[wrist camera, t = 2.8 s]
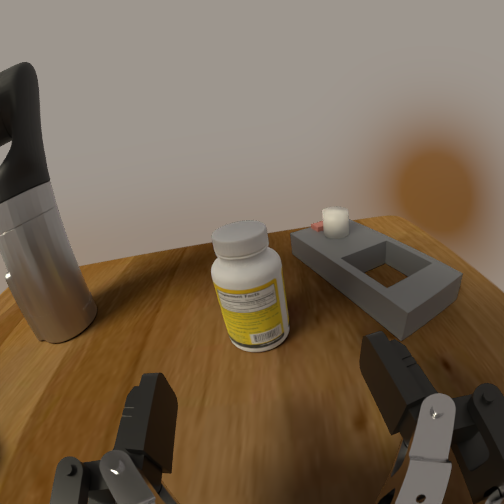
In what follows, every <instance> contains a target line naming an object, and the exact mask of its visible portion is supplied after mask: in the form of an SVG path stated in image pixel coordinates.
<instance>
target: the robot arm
mask: <svg viewBox="0 0 504 504" xmlns="http://www.w3.org/2000/svg"><path fill="white" fill-rule="evenodd" d="M10 141H12V145H11V148H10V150H9V152H8V154H7V156H6V158H5V160H4V161H3V163H2V164H1V166H0V252H1V255H2V257H3V260H4V262H5V265H6V267H7V270H8V272H7V273H6V275H5V279H6V282H7V284H8V286H9V288H10V290H11V292H12V294H13V296H14V298H15V300H16V302H17V304H18V306H19V308H20V310H21V311H22V313H23V315H24V317H25V319H26V320H27V322H28V324H29V325H30V327H31V329H32V330H33V332H34V334H35V335H36V337H37V339H38V340H39V341H41V340H45V341H47V342H50V343H59V342H63V341H66V340H68V339H71V338H73V337H74V336H76V335H78V334H79V333H81V332H82V331H83V330H84V329H85V328H87V327H88V326H89V324H90V323H91V322H92V321H93V319H94V318H95V316H96V313H97V306H96V304H95V302H94V300H93V298H92V295H91V293H90V291H89V289H88V287H87V285H86V283H85V280H84V278H83V276H82V273H81V271H80V268H79V266H78V264H77V261H76V259H75V256H74V254H73V251H72V248H71V246H70V243H69V240H68V237H67V235H66V232H65V229H64V226H63V223H62V220H61V217H60V214H59V210H58V207H57V204H56V201H55V197H54V193H53V189H52V185H51V182H50V177H49V173H48V169H47V163H46V157H45V152H44V146H43V140H42V132H41V121H40V102H39V87H38V79H37V75H36V72H35V69H34V67H33V66H32V65H31V64H30V63H27V62H22V63H19V64H17V65H14V66H12V67H10V68H8V69H6V70H4V71H2V72H0V146H2V145H4V144H6V143H8V142H10ZM360 370H361V373H362V375H363V377H364V379H365V381H366V383H367V385H368V387H369V389H370V392H371V394H372V396H373V398H374V400H375V402H376V404H377V406H378V408H379V410H380V412H381V414H382V417H383V419H384V421H385V423H386V425H387V427H388V429H389V432H390V434H391V435H393V434H396V433H398V432H400V434H401V436H402V439H401V442H400V445H399V448H398V451H397V454H396V457H395V460H394V463H393V466H392V469H391V471H390V474H389V476H388V479H387V481H386V483H385V484H384V486H383V488H382V489H381V491H380V493H379V495H378V498H377V500H376V502H375V504H442V501H443V498H444V495H445V491H446V488H447V484H448V481H449V477H450V473H451V467H452V464H451V461H449V460H448V455H449V450H450V446H451V448H452V450H453V453H454V455H455V457H456V460H457V462H458V464H459V467H460V469H461V472H462V474H463V477H464V479H465V482H466V484H467V487H468V490H469V492H470V495H471V498H472V501H473V504H504V396H503V395H502V393H501V392H500V390H499V389H498V388H497V387H496V386H495V385H493V384H490V383H484V384H481V385H480V386H478V387H477V388H476V390H475V391H474V393H473V394H471V395H466V396H462V397H457V398H450V397H449V396H447V395H445V394H441V393H438V392H437V391H436V390H435V389H434V387H433V386H432V384H431V383H430V381H429V380H428V378H427V377H426V375H425V374H424V372H423V371H422V369H421V368H420V366H419V365H418V364H417V362H416V361H415V359H414V358H413V357H412V356H411V353H410V352H409V351H408V349H407V348H406V346H405V345H403V344H401V343H400V342H398V341H397V340H395V339H394V340H392V341H389V340H388V338H387V337H386V335H385V334H384V333H383V332H382V331H379V332H376V333H372V334H369V335H366V336H364V337H363V339H362V347H361V354H360ZM177 410H178V403H177V398H176V395H175V393H174V391H173V390H172V388H171V387H170V385H169V383H168V382H167V380H166V378H165V376H164V375H163V374H162V373H147V374H143V375H142V377H141V381H140V385H139V386H134V387H133V389H132V390H131V392H130V393H129V394H128V396H127V399H126V402H125V408H124V410H123V414H122V415H123V417H121V421H120V425H119V429H118V433H117V438H116V442H115V446H114V449H113V450H112V451H109V452H107V453H106V454H105V455H104V456H103V457H102V459H101V460H98V461H91V462H84V463H82V462H80V461H79V460H78V459H76V458H74V457H65V458H63V459H62V460H61V461H60V462H59V463H58V465H57V469H56V473H55V478H54V483H53V488H52V494H51V500H50V504H87V503H88V504H180V503H179V502H178V501H177V499H176V498H175V497H174V496H173V494H172V493H171V492H170V490H169V489H168V488H167V486H166V485H165V484H164V482H163V481H162V480H161V479H162V473H172V460H173V448H174V438H175V428H176V418H177ZM88 498H89V499H88ZM418 501H419V502H418ZM417 502H418V503H417Z"/></svg>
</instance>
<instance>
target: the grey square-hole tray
mask: <svg viewBox="0 0 504 504" xmlns="http://www.w3.org/2000/svg"><path fill="white" fill-rule="evenodd" d="M322 214H323V221H320V222H317V223H313V224H311V227H310V228H307V229H303V230H300V231H296V232H293V233H290V236H291V245H292V254H293V255H294V256H296V257H297V258H298V259H300V260H301V261H302V262H303V263H305V264H306V265H307V266H309V267H310V268H311V269H312V270H314V271H315V272H316V273H317V274H319V275H320V276H321V277H323V278H324V279H325V280H326V281H328V282H329V283H330V284H331V285H333V286H334V287H335V288H336V289H338V290H339V291H340V292H342V293H343V294H344V295H345V296H347V297H348V298H349V299H350V300H352V301H353V302H354V303H355V304H357V305H358V306H359V307H360V308H361V309H363V310H364V311H365V312H366V313H368V314H369V315H370V316H371V317H373V318H374V319H375V320H376V321H377V322H379V323H380V324H381V325H382V326H384V327H385V328H386V329H387V330H388V331H390V332H391V333H392V334H393V335H395V336H396V337H397V338H398V339H399V340H401V341H402V340H403V339H405V338H406V337H408V336H409V335H411V334H412V333H414V332H415V331H416V330H418V329H419V328H420V327H422V326H423V325H425V324H426V323H427V322H429V321H430V320H431V319H432V318H434V317H435V316H436V315H438V314H439V313H440V312H441V311H443V310H444V309H445V308H446V307H448V306H449V305H450V304H451V303H452V302H454V301H455V300H456V299H457V295H458V292H459V288H460V284H461V280H462V275H463V273H461V272H459V271H457V270H455V269H453V268H451V267H450V266H448V265H446V264H444V263H442V262H440V261H438V260H436V259H434V258H432V257H430V256H428V255H426V254H424V253H422V252H420V251H418V250H416V249H414V248H412V247H410V246H408V245H405V244H403V243H401V242H399V241H397V240H395V239H393V238H390V237H388V236H386V235H384V234H382V233H379V232H377V231H375V230H373V229H370V228H368V227H366V226H364V225H361V224H359V223H357V222H354V221H352V220H350V219H349V216H348V209H347V208H344V207H329V208H325V209H324V210H323V211H322ZM384 263H386V264H388V265H389V266H391V267H393V268H395V269H396V270H398V271H400V272H401V273H403V274H405V275H407V276H408V277H407V278H405V279H404V280H402V281H400V282H398V283H396V284H394V285H392V286H390V287H389V288H386V287H384V286H383V285H381V284H380V283H378V282H377V281H375V280H374V279H372V278H371V277H369V276H368V275H366V274H364V272H367V271H369V270H371V269H373V268H376V267H378V266H380V265H382V264H384Z"/></svg>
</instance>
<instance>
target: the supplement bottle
mask: <svg viewBox="0 0 504 504" xmlns="http://www.w3.org/2000/svg"><path fill="white" fill-rule="evenodd" d="M212 242H213V247H214V251H215V254H216V256H217V257H218V258H217V259H216V260H215V261H214V263H213V265H212V268H211V275H212V279H213V283H214V287H215V290H216V294H217V297H218V301H219V304H220V308H221V311H222V314H223V317H224V321H225V324H226V328H227V331H228V334H229V337H230V339H231V341H232V342H233V344H234V345H235V346H237V347H238V348H240V349H242V350H245V351H249V352H263V351H267V350H270V349H273V348H275V347H276V346H278V345H279V344H281V343H282V342H283V341H284V340H285V338H286V337H287V335H288V333H289V315H288V308H287V300H286V292H285V285H284V277H283V270H282V264H281V259H280V256H279V255H278V253H277V252H276V251H275V250H273V249H271V248H269V247H268V245H269V242H268V235H267V229H266V225H265V224H264V223H262V222H260V221H254V220H246V221H239V222H234V223H230V224H227V225H225V226H222V227H220V228H218V229H217V230H215V231H214V232H213V234H212Z"/></svg>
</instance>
